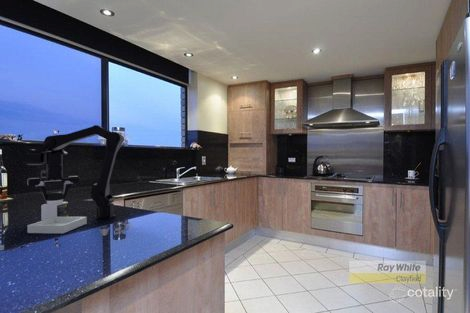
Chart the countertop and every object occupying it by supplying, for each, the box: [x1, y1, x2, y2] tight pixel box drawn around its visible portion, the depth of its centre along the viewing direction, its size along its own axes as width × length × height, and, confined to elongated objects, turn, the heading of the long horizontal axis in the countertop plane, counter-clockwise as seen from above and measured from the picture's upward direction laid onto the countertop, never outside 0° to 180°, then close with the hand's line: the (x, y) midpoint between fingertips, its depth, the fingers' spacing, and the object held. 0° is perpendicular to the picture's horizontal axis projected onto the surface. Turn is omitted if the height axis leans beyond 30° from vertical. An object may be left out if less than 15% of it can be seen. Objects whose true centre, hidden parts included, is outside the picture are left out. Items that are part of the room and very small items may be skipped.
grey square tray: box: [27, 216, 88, 234], centre depth 101 cm, size 14×14×3 cm
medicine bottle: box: [40, 191, 69, 221], centre depth 114 cm, size 7×7×12 cm
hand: (55, 200), depth 114 cm, fingers closed on medicine bottle, 6 cm apart
